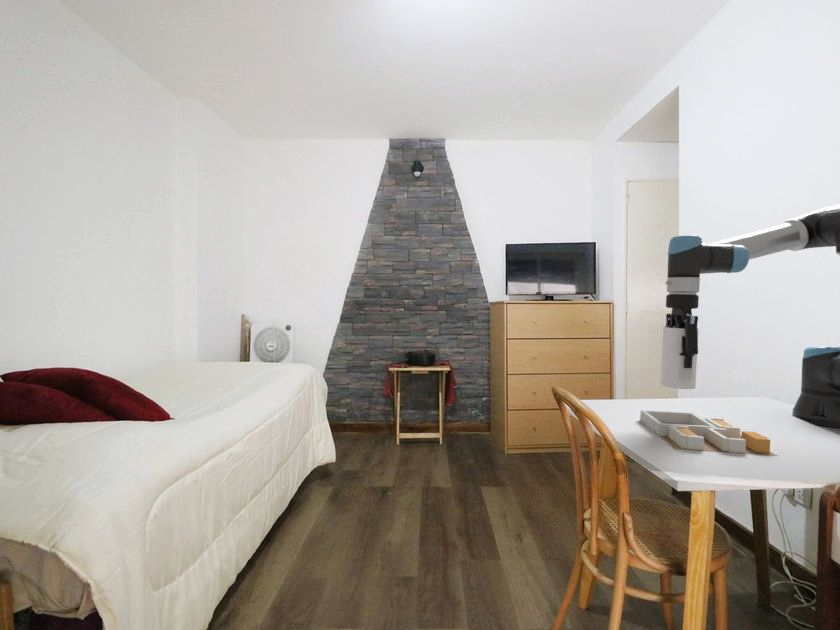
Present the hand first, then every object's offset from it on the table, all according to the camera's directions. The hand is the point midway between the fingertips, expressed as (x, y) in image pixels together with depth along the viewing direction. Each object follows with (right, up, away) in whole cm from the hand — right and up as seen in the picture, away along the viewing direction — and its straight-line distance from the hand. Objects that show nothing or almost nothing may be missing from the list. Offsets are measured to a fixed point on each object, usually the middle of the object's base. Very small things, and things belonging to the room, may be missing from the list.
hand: (678, 376), depth 119 cm
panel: (+3, -16, -5) cm, 17 cm away
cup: (0, -3, 0) cm, 3 cm away
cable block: (+11, -15, -13) cm, 23 cm away
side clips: (+2, -15, -7) cm, 16 cm away
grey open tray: (+5, -15, -12) cm, 20 cm away
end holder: (0, -14, +1) cm, 14 cm away
